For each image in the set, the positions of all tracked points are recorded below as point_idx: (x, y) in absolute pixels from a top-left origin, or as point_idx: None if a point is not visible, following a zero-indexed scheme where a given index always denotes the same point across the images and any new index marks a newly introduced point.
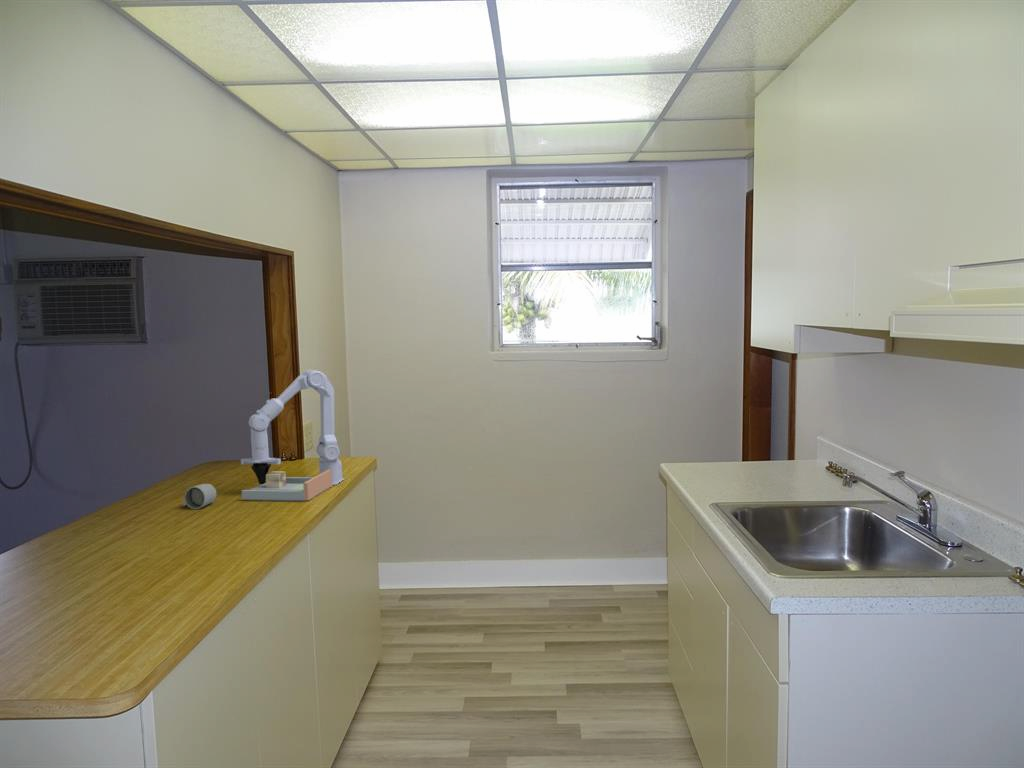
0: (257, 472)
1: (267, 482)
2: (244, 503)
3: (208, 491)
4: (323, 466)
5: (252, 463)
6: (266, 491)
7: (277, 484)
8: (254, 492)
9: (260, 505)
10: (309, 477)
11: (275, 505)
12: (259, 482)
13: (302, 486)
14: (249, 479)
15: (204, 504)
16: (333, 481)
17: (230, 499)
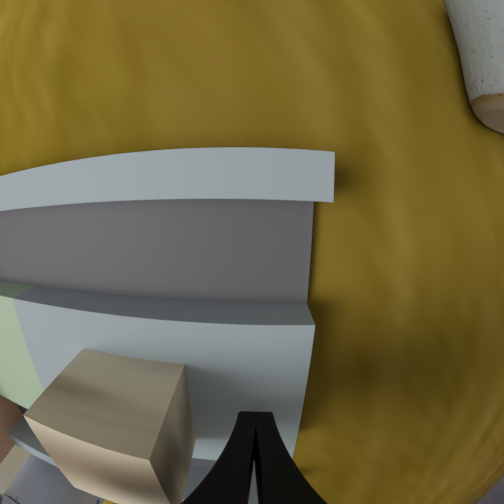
0: (274, 497)
1: (157, 394)
2: (247, 84)
3: (491, 2)
4: (27, 493)
5: None
6: (58, 163)
7: (79, 366)
8: (175, 151)
9: (104, 62)
10: None
11: (32, 91)
12: (266, 420)
13: (10, 365)
14: (402, 495)
15: (444, 4)
16: None
17: (418, 205)
